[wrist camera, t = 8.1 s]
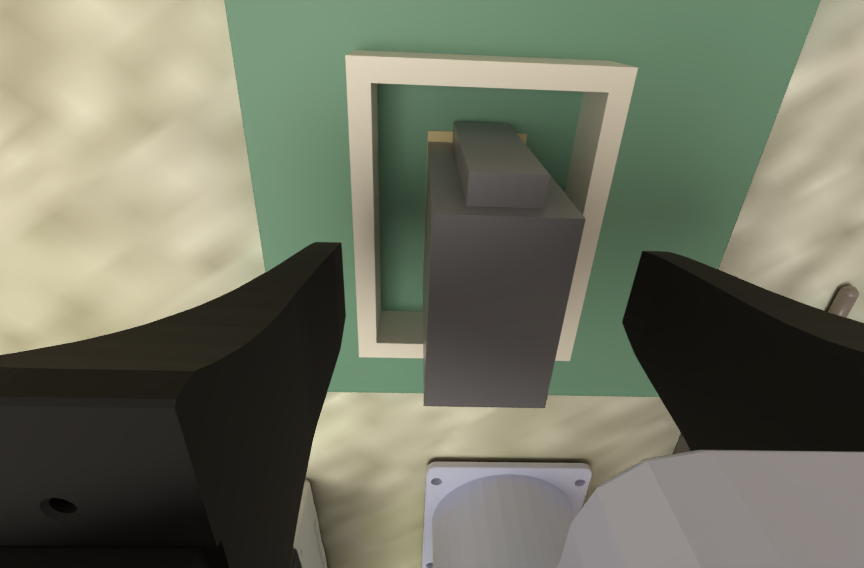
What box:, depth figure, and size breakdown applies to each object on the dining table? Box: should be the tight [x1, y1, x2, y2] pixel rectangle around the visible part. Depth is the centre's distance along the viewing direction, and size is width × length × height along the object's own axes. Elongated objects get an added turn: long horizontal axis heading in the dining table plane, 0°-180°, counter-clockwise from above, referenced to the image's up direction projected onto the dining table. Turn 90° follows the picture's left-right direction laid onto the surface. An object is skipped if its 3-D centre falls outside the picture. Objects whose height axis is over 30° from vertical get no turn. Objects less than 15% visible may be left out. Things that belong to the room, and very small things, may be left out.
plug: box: [423, 122, 586, 408], centre depth 13 cm, size 6×3×6 cm, turn 178°
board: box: [224, 0, 821, 397], centre depth 15 cm, size 16×16×3 cm
